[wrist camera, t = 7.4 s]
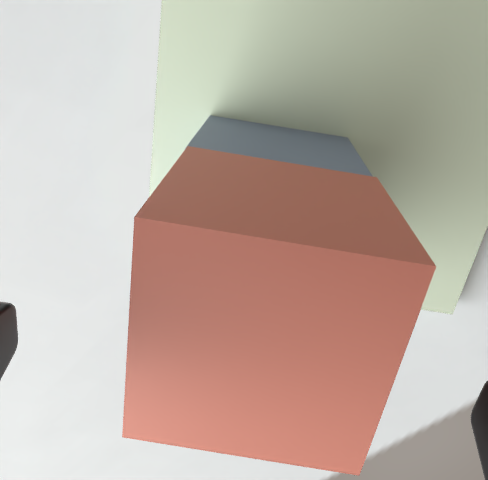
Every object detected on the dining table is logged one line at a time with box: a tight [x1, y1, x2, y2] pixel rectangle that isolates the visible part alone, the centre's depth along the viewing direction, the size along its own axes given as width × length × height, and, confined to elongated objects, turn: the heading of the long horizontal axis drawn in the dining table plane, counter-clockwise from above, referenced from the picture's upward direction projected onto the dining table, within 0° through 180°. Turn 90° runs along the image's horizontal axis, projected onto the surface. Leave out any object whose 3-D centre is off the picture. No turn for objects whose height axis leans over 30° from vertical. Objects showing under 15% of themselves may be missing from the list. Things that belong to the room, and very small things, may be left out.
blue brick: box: [185, 115, 372, 176], centre depth 16 cm, size 5×5×5 cm
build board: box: [149, 0, 488, 314], centre depth 17 cm, size 13×16×1 cm
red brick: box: [122, 146, 436, 475], centre depth 11 cm, size 5×5×5 cm
